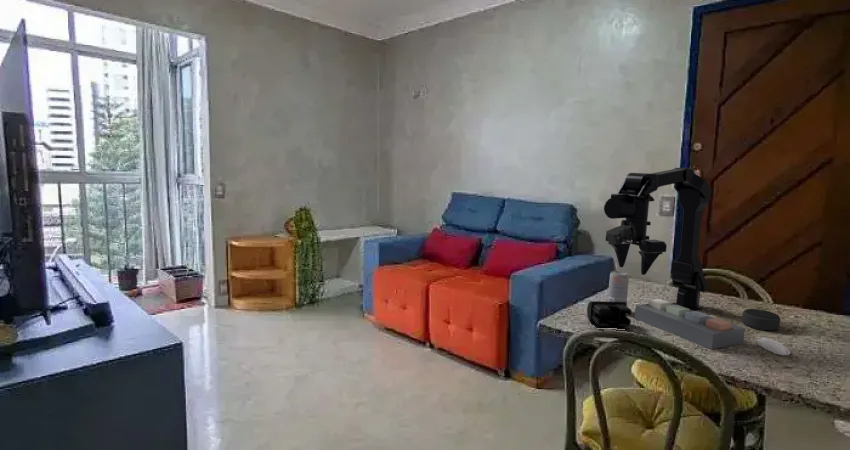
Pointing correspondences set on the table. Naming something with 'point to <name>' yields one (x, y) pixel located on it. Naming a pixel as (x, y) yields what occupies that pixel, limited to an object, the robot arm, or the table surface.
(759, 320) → the smart speaker
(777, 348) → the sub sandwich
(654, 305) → the key ivory
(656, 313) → the keypad
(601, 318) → the end cap
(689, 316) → the key slate
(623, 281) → the energy drink
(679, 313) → the key sage
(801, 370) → the table surface
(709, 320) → the key terracotta
